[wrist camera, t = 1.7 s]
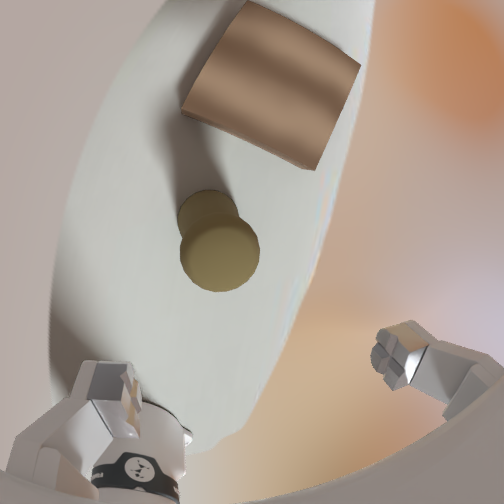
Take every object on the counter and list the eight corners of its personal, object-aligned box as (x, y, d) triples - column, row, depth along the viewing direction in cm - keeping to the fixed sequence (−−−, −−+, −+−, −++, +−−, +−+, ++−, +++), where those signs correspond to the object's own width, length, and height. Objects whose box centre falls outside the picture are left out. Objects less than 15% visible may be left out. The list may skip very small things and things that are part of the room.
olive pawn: (173, 194, 25) (163, 220, 15) (236, 185, 26) (269, 205, 16) (182, 254, 27) (182, 313, 17) (241, 245, 28) (274, 297, 18)
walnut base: (301, 168, 27) (314, 170, 24) (181, 113, 22) (181, 108, 19) (346, 71, 24) (361, 65, 21) (241, 13, 19) (247, 0, 17)
